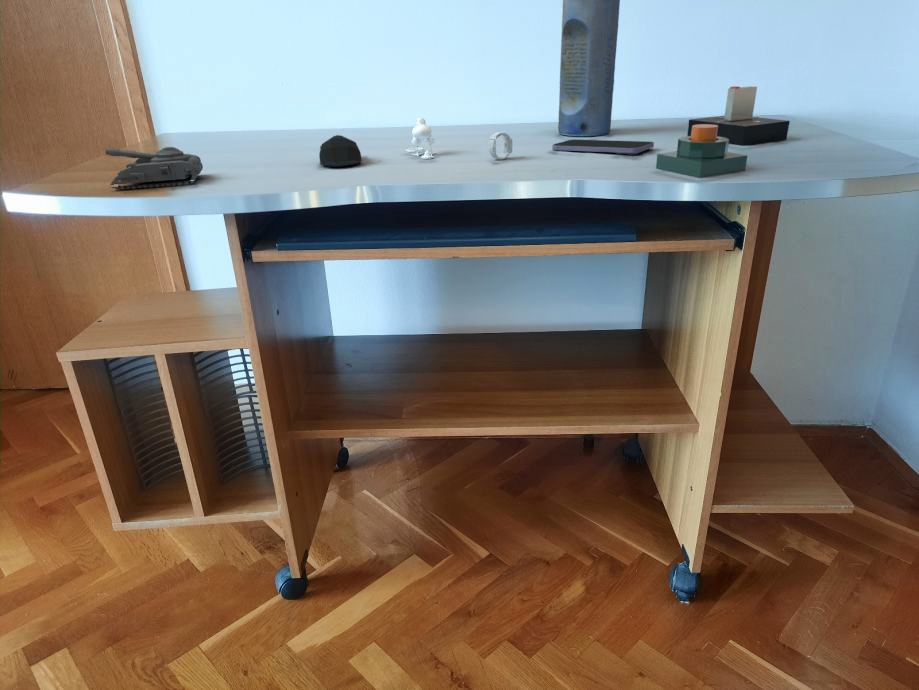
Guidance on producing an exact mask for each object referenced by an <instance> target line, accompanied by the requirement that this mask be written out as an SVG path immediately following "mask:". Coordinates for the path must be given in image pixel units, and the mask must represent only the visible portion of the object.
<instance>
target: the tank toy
mask: <svg viewBox="0 0 919 690" xmlns="http://www.w3.org/2000/svg"><path fill="white" fill-rule="evenodd" d="M105 155H108V156H110V157H125V158H131V159H136V160H134V161H131V162H129V163H127V164H126V165H125V167H126V168H124V169H121V170H120V171H119V172H117V176H115V177H114V179H113V180H112V181H111V183H110V184H109V186H110V185H114V184H118V185H119V186H118V187H111V188H112V189H115V190H125V189H126V190H130V189H132V190H134V189H142V188H144V189H148V188H160V187H161V188H164V187H171V186H172V187H175V186H189V185H192V184H193V183H194V182H195V181H196V179H197V176H199V175H200V174H201V173H202V171H203V168H204V166H203V162H202V160H201V158H200V156H198V155H196V154H190V153H184V151H182V150H180V149H179V148H177V147H175V146H166V147H163V148H162V149H160V150H158V151H157V152H155V153H149V152H141V151H135V150H125V149H124V150H123V149H119V148H113V147H109V148H105ZM188 178H190V179H191V180H194V181H190V179H188ZM176 180H178V181H176ZM152 181H153V182H152ZM166 181H167V182H166ZM132 184H133V185H132Z"/></svg>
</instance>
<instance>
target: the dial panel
mask: <svg viewBox="0 0 919 690" xmlns="http://www.w3.org/2000/svg"><path fill="white" fill-rule="evenodd" d="M724 117H725V115H716V116H709V117H699V118H692V119H688V126H687V134H686V137H687V136H691V131H692V126H693V125H698V124H711V125H717V126H718V132H717V136H718V137H725V138H727V139H729V144H728V145H733V146H740V147H745V146H753V145H760V144H767V143H775V142H780V141H781V142H782V141H787V138H788V135H789V134H788V133H789V127H790V122H791V121H790V120H788V119H787V120H786V119H776V118H769V117H768V118H767V117H760V116H753V117H752V119H747V120H738V121H724Z"/></svg>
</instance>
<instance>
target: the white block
mask: <svg viewBox="0 0 919 690" xmlns="http://www.w3.org/2000/svg"><path fill="white" fill-rule="evenodd" d="M757 91H758V86H753V85H751V86H730V87H729V88H728V89H727V96H726V104H725V109H724V111H725V112H724V116H725V117H724V121H738V120H747V119H752V117H754V110H755V103H756V97H757Z"/></svg>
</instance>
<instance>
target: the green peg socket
mask: <svg viewBox="0 0 919 690" xmlns="http://www.w3.org/2000/svg"><path fill="white" fill-rule="evenodd" d="M677 139H678V140H677V148H676V151H668V152H662V153H657V154H656V164H655V169H656V170H660V171H666V172H670V173H674V174H679V175H683V176H687V177H692V178H697V179H703V178H709V177H715V176H721V175H727V174H734V173H739V172H745V171H746V169H747V168H746V167H747V163H748V162H747V161H748V155H747V154H740V153H735V152H729V150H728V149H729V145H730V144H729V139H727V138H725V137H718V136H717V139H716V141H693V140H691V136H687V135H686V136H681V137H679V138H677Z"/></svg>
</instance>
